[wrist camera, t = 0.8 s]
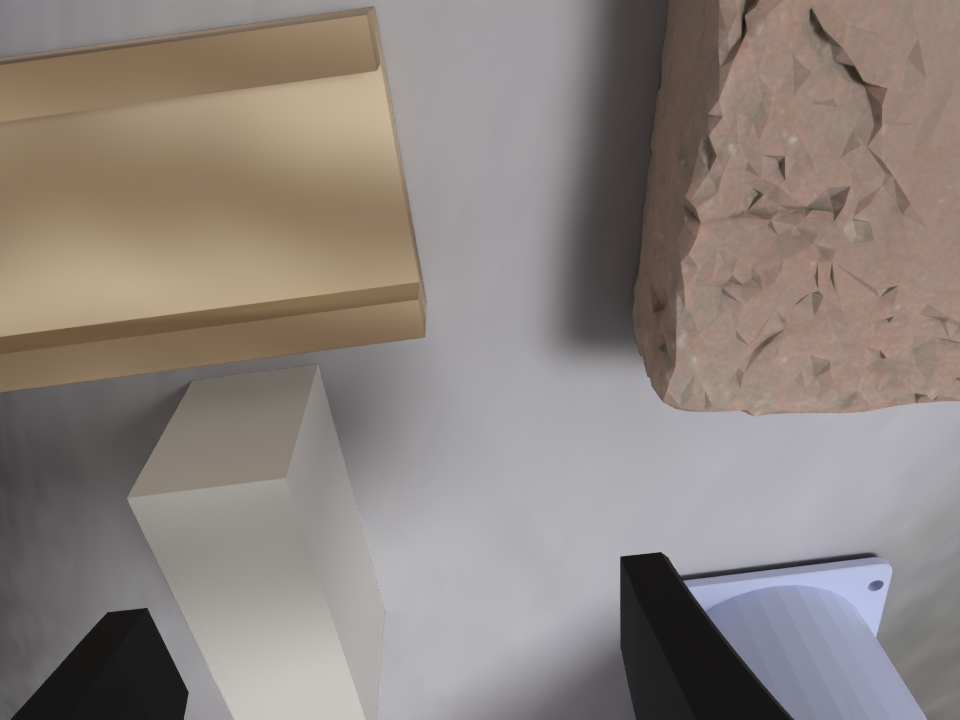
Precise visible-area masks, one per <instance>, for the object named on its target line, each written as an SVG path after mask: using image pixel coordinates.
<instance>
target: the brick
mask: <svg viewBox="0 0 960 720" xmlns="http://www.w3.org/2000/svg"><path fill="white" fill-rule="evenodd" d="M661 62H662V80H661V88H660V89H659V91H658V92H657V100H656V109H655V117H654V125H653V133H652V138H651V144H650V148H651V151H652V154H651V158H650V164H649V169H648V178H647V191H646V199H645V206H644V213H643V220H642V246H641V254H640V262H639V271H638V276H637V279H636V283H635V286H634V299H635V301H634V305H633V310H632V317H633V326H634V334H635V339H636V343H637V346H638V350H639V354H640V355H641V356H642V357H643V359H644V364H645V368H646V373H647V376H648V377H649V378H650V379H651V386H652V387H653V389H654V390H655V392H656V393H657V395H658V396H659V397H660V399H661V400H662V402H664V403H666V404H668V405H670V406H671V407H673V408H675V409H680V410H685V411H696V412H716V411H739V410H741V411H743V412H745V413H747V414H750V415H752V416H759V415H766V414H781V413H852V412H864V411H871V410H876V409H881V408H886V407H892V406H898V405H905V404H913V403H927V402H937V401H960V0H668V17H667V26H666V33H665V39H664V45H663V52H662V58H661Z"/></svg>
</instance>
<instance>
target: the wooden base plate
mask: <svg viewBox="0 0 960 720" xmlns="http://www.w3.org/2000/svg"><path fill="white" fill-rule="evenodd" d="M425 326H426V296H425V290H424V285H423V279H422V273H421V268H420V262H419V256H418V250H417V245H416V239H415V233H414V228H413V222H412V216H411V210H410V205H409V199H408V193H407V188H406V182H405V176H404V170H403V165H402V159H401V153H400V148H399V142H398V136H397V130H396V125H395V119H394V113H393V108H392V102H391V96H390V91H389V85H388V79H387V73H386V68H385V62H384V56H383V51H382V45H381V39H380V33H379V28H378V22H377V16H376V11H375V7H368V8H361V9H354V10H346V11H339V12H332V13H325V14H317V15H310V16H303V17H296V18H288V19H281V20H274V21H267V22H259V23H252V24H245V25H238V26H230V27H223V28H216V29H209V30H201V31H194V32H187V33H180V34H172V35H165V36H158V37H150V38H143V39H136V40H129V41H121V42H114V43H107V44H100V45H92V46H85V47H78V48H71V49H63V50H56V51H49V52H42V53H34V54H27V55H20V56H13V57H5V58H0V392H7V391H15V390H22V389H30V388H38V387H45V386H53V385H61V384H69V383H76V382H84V381H92V380H99V379H107V378H115V377H123V376H130V375H138V374H146V373H153V372H161V371H169V370H177V369H184V368H192V367H200V366H207V365H215V364H223V363H230V362H238V361H246V360H254V359H261V358H269V357H277V356H284V355H292V354H300V353H308V352H315V351H323V350H331V349H338V348H346V347H354V346H362V345H369V344H377V343H385V342H392V341H400V340H408V339H416V338H423V337H425Z"/></svg>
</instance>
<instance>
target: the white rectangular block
mask: <svg viewBox="0 0 960 720" xmlns="http://www.w3.org/2000/svg"><path fill="white" fill-rule="evenodd" d="M127 500H128V502H129V504H130V506H131V509H132V511H133V513H134V515H135V517H136V519H137V521H138V523H139V525H140V527H141V529H142V531H143V533H144V535H145V537H146V539H147V541H148V544H149V546H150V548H151V550H152V552H153V554H154V556H155V558H156V560H157V562H158V564H159V566H160V568H161V570H162V572H163V574H164V576H165V578H166V581H167V583H168V585H169V587H170V589H171V591H172V593H173V595H174V597H175V599H176V601H177V603H178V605H179V607H180V609H181V611H182V613H183V616H184V618H185V620H186V622H187V624H188V626H189V628H190V630H191V632H192V634H193V636H194V638H195V640H196V642H197V644H198V646H199V648H200V651H201V653H202V655H203V657H204V659H205V661H206V663H207V665H208V667H209V669H210V671H211V673H212V675H213V677H214V679H215V681H216V683H217V685H218V688H219V690H220V692H221V694H222V696H223V698H224V700H225V702H226V704H227V706H228V708H229V710H230V712H231V714H232V716H233V718H234V720H377V710H378V697H379V685H380V672H381V659H382V646H383V633H384V620H385V608H384V604H383V600H382V597H381V593H380V589H379V586H378V582H377V578H376V575H375V571H374V568H373V564H372V560H371V557H370V553H369V549H368V546H367V542H366V538H365V535H364V531H363V527H362V524H361V520H360V516H359V513H358V509H357V505H356V502H355V498H354V494H353V491H352V487H351V483H350V480H349V476H348V472H347V469H346V465H345V461H344V458H343V454H342V450H341V447H340V443H339V439H338V436H337V432H336V428H335V425H334V421H333V417H332V414H331V410H330V406H329V403H328V399H327V396H326V392H325V388H324V385H323V381H322V377H321V374H320V370H319V366H318V364H317V365H309V366H302V367H294V368H286V369H278V370H270V371H263V372H255V373H247V374H239V375H231V376H224V377H216V378H208V379H200V380H192V382H191V384H190V386H189V388H188V389H187V391H186V393H185V395H184V397H183V398H182V400H181V402H180V404H179V405H178V407H177V409H176V411H175V413H174V414H173V416H172V418H171V420H170V422H169V423H168V425H167V427H166V429H165V430H164V432H163V434H162V436H161V438H160V439H159V441H158V443H157V445H156V447H155V448H154V450H153V452H152V454H151V455H150V457H149V459H148V461H147V463H146V464H145V466H144V468H143V470H142V472H141V473H140V475H139V477H138V479H137V480H136V482H135V484H134V486H133V488H132V489H131V491H130V493H129V495H128V497H127Z"/></svg>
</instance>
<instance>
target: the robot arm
mask: <svg viewBox="0 0 960 720" xmlns="http://www.w3.org/2000/svg"><path fill="white" fill-rule="evenodd" d="M891 575H892V568H891V567H890V565H889V564H888V562H887V561H886V560H885V559H883V558H881V557H872V558H864V559H855V560H847V561H839V562H831V563H823V564H815V565H807V566H799V567H790V568H782V569H774V570H766V571H758V572H750V573H742V574H734V575H725V576H717V577H709V578H701V579H693V580H685V581H683V580H682V578H681V577H680V575H679V574H678V572H677V571H676V569H675V568H674V566H673V565H672V563H671V562H670V560H669V558H668V557H667V556H665V555H664V554H663V553H661V552H658V553H649V554H640V555H631V556H622V557H620V619H621V651H622V656H623V660H624V665H625V670H626V675H627V680H628V684H629V689H630V694H631V698H632V703H633V707H634V712H635V716H636V719H637V720H927V718H926V717H925V715H924V714H923V712H922V711H921V709H920V707H919V706H918V704H917V703H916V701H915V699H914V698H913V696H912V695H911V693H910V691H909V690H908V688H907V687H906V685H905V683H904V682H903V680H902V679H901V677H900V676H899V674H898V672H897V671H896V669H895V668H894V666H893V664H892V663H891V661H890V660H889V658H888V656H887V655H886V653H885V652H884V650H883V648H882V647H881V645H880V644H879V642H878V641H877V639H876V636H877V632H878V628H879V624H880V620H881V616H882V612H883V608H884V604H885V600H886V596H887V592H888V588H889V583H890V579H891ZM188 694H189V692H188V690H187V688H186V686H185V684H184V682H183V680H182V678H181V676H180V674H179V672H178V670H177V668H176V666H175V664H174V662H173V660H172V658H171V656H170V654H169V652H168V649H167V647H166V645H165V643H164V641H163V639H162V637H161V635H160V633H159V631H158V629H157V627H156V625H155V623H154V621H153V619H152V617H151V615H150V613H149V611H148V609H147V608H143V609H134V610H125V611H116V612H108V613H107V614H106V615H105V616H104V617H103V618H102V619H101V620H100V621H99V622H98V623H97V624H96V625H95V626H94V627H93V629H92V630H91V631H90V632H89V633H88V634H87V635H86V636H85V637H84V639H83V640H82V641H81V642H80V643H79V644H78V645H77V646H76V647H75V649H74V650H73V651H72V652H71V653H70V654H69V655H68V656H67V658H66V659H65V660H64V661H63V662H62V663H61V664H60V665H59V667H58V668H57V669H56V670H55V671H54V672H53V673H52V674H51V676H50V677H49V678H48V679H47V680H46V681H45V682H44V683H43V684H42V686H41V687H40V688H39V689H38V690H37V691H36V692H35V693H34V695H33V696H32V697H31V698H30V699H29V700H28V701H27V702H26V703H25V704H24V705H23V707H22V708H21V709H20V710H19V711H18V712H17V713H16V714H15V715H14V716H13V718H12V719H11V720H184V715H185V709H186V704H187V699H188Z"/></svg>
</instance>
